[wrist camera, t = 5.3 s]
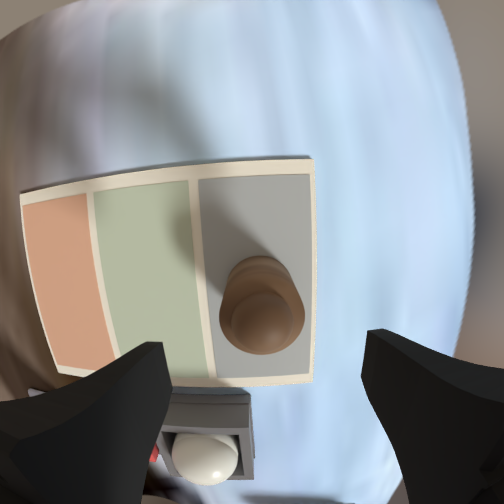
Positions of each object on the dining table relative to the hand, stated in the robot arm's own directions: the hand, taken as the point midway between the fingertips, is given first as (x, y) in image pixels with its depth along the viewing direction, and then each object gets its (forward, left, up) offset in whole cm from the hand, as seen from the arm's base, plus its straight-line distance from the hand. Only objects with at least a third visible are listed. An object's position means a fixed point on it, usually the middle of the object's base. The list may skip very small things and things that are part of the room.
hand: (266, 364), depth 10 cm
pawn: (0, 0, -8) cm, 8 cm away
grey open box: (-12, +7, -9) cm, 16 cm away
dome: (-12, +5, -8) cm, 15 cm away
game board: (0, +7, -9) cm, 11 cm away
